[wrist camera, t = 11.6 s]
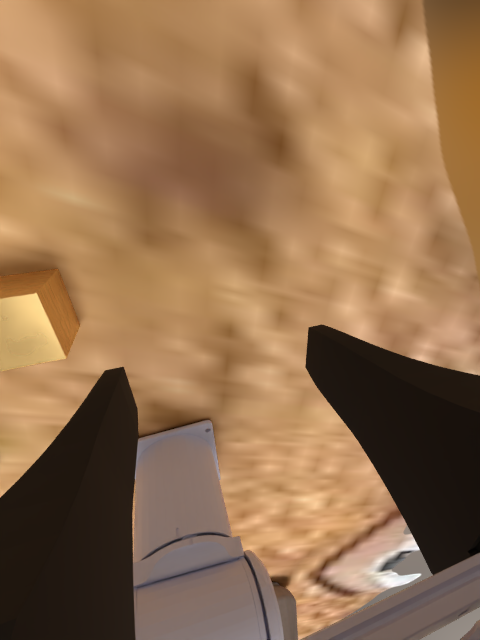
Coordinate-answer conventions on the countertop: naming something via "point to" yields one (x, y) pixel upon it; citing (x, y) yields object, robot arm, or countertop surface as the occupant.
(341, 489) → the countertop surface
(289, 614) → the coffee pot
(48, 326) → the brushed gold cube
